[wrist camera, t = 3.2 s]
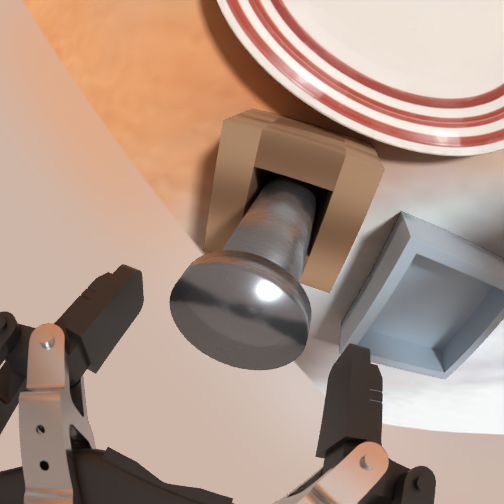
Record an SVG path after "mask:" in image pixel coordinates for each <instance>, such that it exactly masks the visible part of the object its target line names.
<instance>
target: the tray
mask: <svg viewBox="0 0 504 504" xmlns="http://www.w3.org/2000/svg"><path fill="white" fill-rule="evenodd" d="M503 318H504V259H503V258H501V257H499V256H497V255H495V254H493V253H491V252H489V251H487V250H485V249H483V248H481V247H479V246H477V245H475V244H473V243H471V242H469V241H467V240H465V239H463V238H461V237H459V236H457V235H454V234H452V233H450V232H448V231H446V230H444V229H441V228H439V227H437V226H435V225H432V224H430V223H428V222H426V221H423V220H421V219H419V218H416V217H414V216H412V215H409V214H407V213H404V212H402V211H401V213H400V215H399V217H398V219H397V222H396V224H395V226H394V228H393V230H392V232H391V234H390V236H389V238H388V240H387V242H386V244H385V246H384V248H383V250H382V252H381V254H380V256H379V257H378V259H377V261H376V263H375V265H374V267H373V269H372V271H371V272H370V274H369V276H368V278H367V280H366V281H365V283H364V285H363V287H362V289H361V290H360V292H359V294H358V296H357V297H356V299H355V301H354V302H353V304H352V306H351V308H350V309H349V311H348V313H347V314H346V316H345V317H344V319H343V321H342V323H341V336H340V347H339V353H341V354H342V353H343V351H344V350H345V349H346V347H347V346H348V345H349V344H350V343H352V344H355V345H359V346H362V347H366V348H369V349H370V362H374V363H377V364H381V365H385V366H389V367H393V368H397V369H401V370H406V371H410V372H414V373H419V374H423V375H427V376H432V377H437V378H441V379H446V378H448V377H449V376H450V375H451V374H452V373H453V372H454V371H455V370H456V369H457V368H458V367H459V366H460V365H461V364H462V363H463V362H464V361H465V360H466V359H467V358H468V357H469V356H470V355H471V354H472V353H473V352H474V351H475V350H476V349H477V348H478V347H479V346H480V345H481V344H482V343H483V341H484V340H485V339H486V338H487V337H488V336H489V335H490V334H491V333H492V331H493V330H494V329H495V328H496V327H497V326H498V324H499V323H500V322H501V321H502V320H503Z"/></svg>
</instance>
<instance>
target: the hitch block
mask: <svg viewBox="0 0 504 504" xmlns="http://www.w3.org/2000/svg"><path fill="white" fill-rule="evenodd" d="M268 171H271V172H275V173H278V174H281V175H285V176H288V177H291V178H294V179H297V180H301V181H304V182H307V183H310V184H313V185H316V186H319V187H322V188H325V189H326V191H325V194H324V197H323V200H322V203H321V206H320V208H319V211H318V214H317V215H315V216H314V221H313V226H312V230H311V235H310V240H309V245H308V249H307V254H306V258H305V263H304V267H303V272H302V276H301V280H300V283H301V284H304V285H307V286H310V287H313V288H316V289H319V290H322V291H325V292H328V293H330V291H331V289H332V287H333V285H334V283H335V281H336V279H337V277H338V275H339V273H340V271H341V269H342V267H343V264H344V262H345V260H346V258H347V256H348V254H349V252H350V250H351V247H352V245H353V243H354V241H355V239H356V236H357V234H358V232H359V230H360V227H361V225H362V223H363V221H364V218H365V216H366V214H367V211H368V209H369V207H370V204H371V202H372V199H373V197H374V195H375V192H376V190H377V187H378V185H379V182H380V180H381V177H382V175H383V172H384V168H383V165H382V163H381V161H380V159H379V157H378V155H377V153H376V151H375V149H374V147H373V145H370V144H368V143H365V142H362V141H360V140H357V139H354V138H351V137H349V136H346V135H343V134H340V133H337V132H334V131H331V130H328V129H325V128H322V127H319V126H315V125H312V124H309V123H305V122H302V121H299V120H295V119H292V118H288V117H284V116H281V115H277V114H273V113H269V112H265V111H261V110H257V109H250V110H248V111H245V112H243V113H240V114H237V115H235V116H232V117H230V118H228V119H225V120H223V126H222V132H221V137H220V143H219V149H218V155H217V161H216V167H215V173H214V180H213V186H212V193H211V199H210V206H209V213H208V220H207V228H206V235H205V243H204V251H207V252H209V253H211V252H216V251H222V249H223V248H224V246H225V245H226V243H227V242H228V240H229V239H230V237H231V236H232V234H233V233H234V231H235V230H236V228H237V227H238V225H239V223H240V222H241V220H242V219H243V217H244V216H245V214H246V213H247V211H248V210H249V208H250V207H251V205H252V204H253V202H254V201H255V199H256V198H257V196H258V195H259V193H260V192H261V190H262V189H263V187H264V186H265V183H266V179H267V175H268Z"/></svg>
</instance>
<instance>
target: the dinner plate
mask: <svg viewBox="0 0 504 504" xmlns="http://www.w3.org/2000/svg"><path fill="white" fill-rule="evenodd" d="M217 3H218V5H219V7H220V9H221V12H222V14H223V16H224V18H225V19H226V21H227V23H228V25H229V26H230V28H231V29H232V31H233V33H234V34H235V36H236V37H237V39H238V40H239V41H240V42H241V44H242V45H243V46H244V47H245V49H246V50H247V51H248V52H249V53H250V55H251V56H252V57H253V58H254V59H255V60H256V62H257V63H258V64H259V65H260V66H261V67H262V68H263V69H264V70H265V71H266V72H267V73H268V74H270V75H271V76H272V77H273V78H274V79H275V80H276V81H277V82H278V83H280V84H281V85H282V86H283V87H284V88H286V89H287V90H288V91H289V92H291V93H292V94H293V95H295V96H296V97H298V98H299V99H300V100H302V101H303V102H305V103H306V104H308V105H309V106H311V107H312V108H314V109H315V110H316V111H318V112H320V113H321V114H323V115H325V116H327V117H328V118H330V119H332V120H334V121H335V122H337V123H339V124H341V125H343V126H345V127H347V128H349V129H351V130H353V131H355V132H357V133H359V134H362V135H364V136H366V137H369V138H372V139H374V140H377V141H380V142H382V143H386V144H389V145H392V146H395V147H398V148H402V149H406V150H410V151H415V152H419V153H425V154H432V155H441V156H475V155H481V154H487V153H491V152H496V151H499V150H502V149H504V0H217Z"/></svg>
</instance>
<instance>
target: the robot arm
mask: <svg viewBox="0 0 504 504" xmlns="http://www.w3.org/2000/svg"><path fill="white" fill-rule="evenodd" d="M143 301H144V296H143V281H142V273H141V271H139V270H137V269H134V268H132V267H129V266H127V265H124V264H123V265H121V266H120V267H119V268H118V269H117V270H116V271H115V272H114V273H113V274H111V273H109V272H108V273H106V274H104V275H102V276H100V277H98V278H96V279H95V280H94V281H93V282H92V283H91V284H90V286H89V287H88V289H86V290H85V291H84V292H83V293H82V294H81V296H79V297H78V298H77V299H76V300H75V302H74V303H73V304H72V305H71V306H70V307H69V308H68V309H67V310H66V312H65V313H64V314H63V315H62V316H61V317H60V318H59V319H58V320H57V321H56V322H55V323H54V324H50V323H47V324H43V325H40V326H39V327H37V328H32V327H29V326H25V325H21V324H18V323H17V321H16V320H15V317H14V316H13V315H12V314H11V313H9V312H0V365H1V364H2V362H3V361H4V360H5V361H6V362H5V363H4V364H3V366H2V367H1V369H0V434H1V432H2V431H3V429H4V427H5V425H6V423H7V422H8V420H9V418H10V416H11V415H12V413H13V411H14V410H15V408H16V406H17V405H18V403H19V429H20V430H19V431H20V446H21V457H22V465H23V466H21V467H18V468H14V469H9V470H6V471H1V472H0V504H234V503H232V500H233V499H232V498H229V497H226V496H222V495H219V494H216V493H213V492H210V491H207V490H204V489H201V488H192V487H185V486H179V485H172V484H167V483H164V482H162V481H161V480H159V479H158V478H157V477H155V476H154V475H153V474H151V473H150V472H149V471H147V470H146V469H145V468H144V467H142V466H141V465H140V464H139V463H137V462H136V461H134V460H132V459H130V458H128V457H126V456H124V455H122V454H120V453H118V452H116V451H115V450H113V449H111V448H109V447H108V448H107V449H106V451H104V450H99V449H96V447H95V441H94V436H93V433H92V430H91V427H90V424H89V421H88V416H87V408H86V399H85V389H84V378H83V374H84V372H85V371H86V369H89V370H90V371H92V372H94V373H97V371H98V370H99V368H100V367H101V366H102V364H103V363H104V361H105V360H106V358H107V357H108V356H109V354H110V353H111V351H112V350H113V348H114V347H115V346H116V344H117V343H118V341H119V340H120V339H121V337H122V336H123V334H124V333H125V332H126V330H127V329H128V328H129V326H130V325H131V323H132V322H133V321H134V319H135V318H136V316H137V315H138V314H139V312H140V311H141V308H142V306H143ZM381 430H382V376H381V373H380V371H379V368H378V366H377V365H374V364H370V349H369V348H366V347H362V346H359V345H355V344H352V343H350V344H349V345H348V346H347V347H346V349H345V350H344V351H343V353H342V354H341V356H340V357H339V358H338V360H337V361H336V362H335V364H334V365H333V367H332V369H331V371H330V374H329V377H328V383H327V391H326V398H325V405H324V411H323V418H322V424H321V430H320V436H319V441H318V447H317V452H316V457H320V458H325V460H324V465H323V467H321V468H320V469H319V470H318V471H317V472H315V473H314V474H313V475H312V476H311V477H309V478H308V479H307V480H306V481H304V482H303V483H302V484H300V485H299V486H298V487H297V488H295V489H294V490H293V491H291V492H290V493H289V494H287V495H286V496H285V497H283V498H281V499H280V500H278V501H276V502H274V503H273V504H357V503H358V504H434V497H435V486H436V480H435V476H434V474H433V472H432V471H431V470H430V469H429V468H427V467H425V466H418V467H415V468H413V469H408V468H406V467H404V466H402V465H400V464H397V463H396V462H394V461H392V460H390V459H389V458H388V455H387V452H386V451H385V449H384V448H383V447H382V445H381V432H382V431H381Z"/></svg>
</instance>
